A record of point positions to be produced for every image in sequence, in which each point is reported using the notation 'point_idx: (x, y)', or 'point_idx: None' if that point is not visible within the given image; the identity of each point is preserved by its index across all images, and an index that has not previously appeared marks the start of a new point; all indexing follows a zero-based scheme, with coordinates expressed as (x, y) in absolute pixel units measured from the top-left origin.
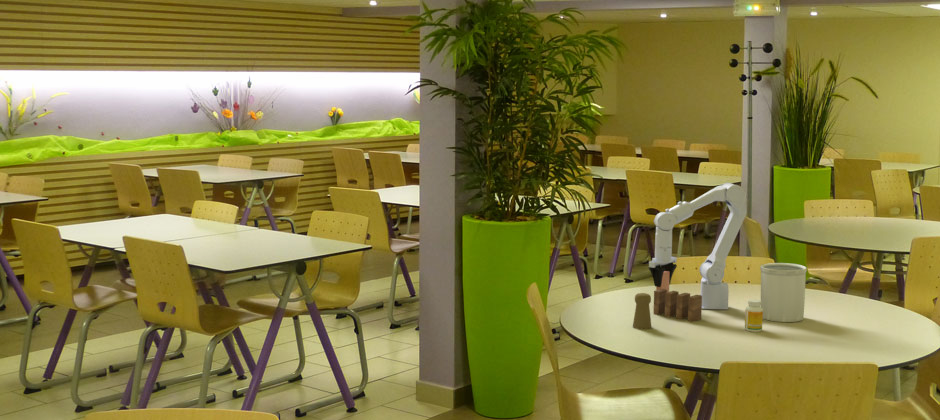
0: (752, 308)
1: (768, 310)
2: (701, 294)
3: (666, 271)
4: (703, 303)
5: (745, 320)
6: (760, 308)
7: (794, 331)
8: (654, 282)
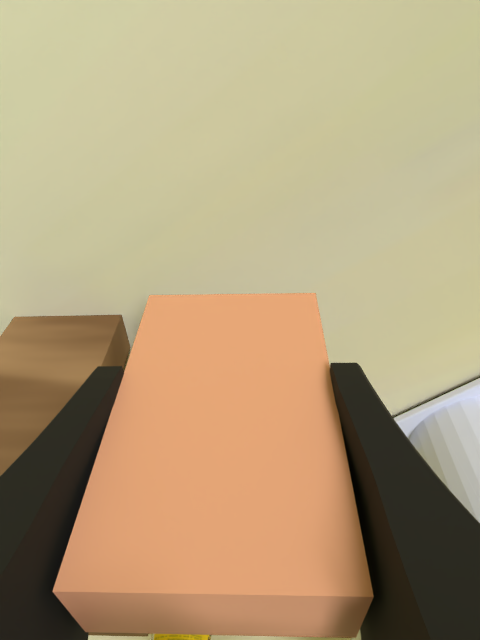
0: None
1: (356, 637)
2: (456, 489)
3: (322, 620)
4: (419, 449)
5: (156, 634)
6: None
7: (264, 636)
8: (70, 407)
